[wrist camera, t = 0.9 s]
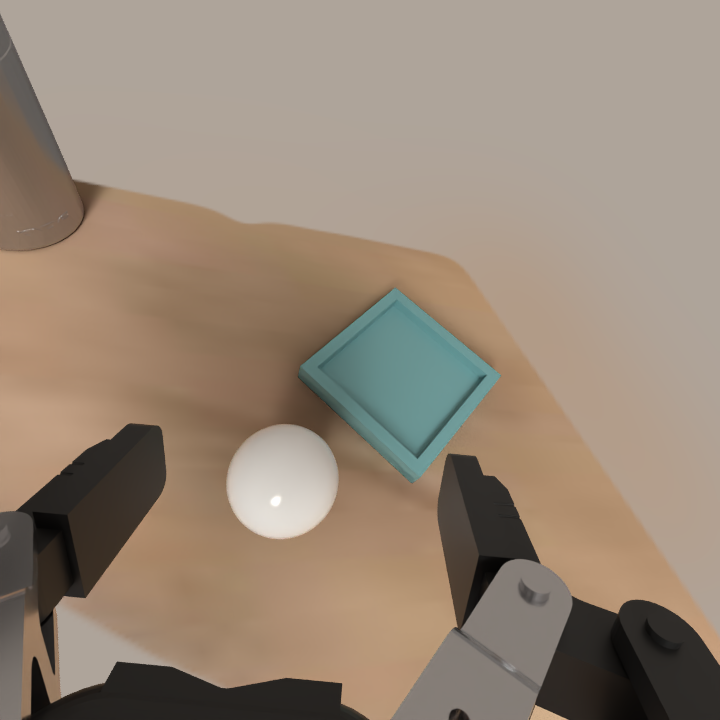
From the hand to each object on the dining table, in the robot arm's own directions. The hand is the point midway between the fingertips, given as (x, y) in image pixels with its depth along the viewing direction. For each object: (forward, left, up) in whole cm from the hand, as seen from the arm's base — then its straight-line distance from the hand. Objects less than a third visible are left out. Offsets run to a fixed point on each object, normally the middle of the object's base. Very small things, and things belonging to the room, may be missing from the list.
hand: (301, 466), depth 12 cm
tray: (-2, +17, -21) cm, 27 cm away
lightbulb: (-2, +2, -21) cm, 21 cm away
